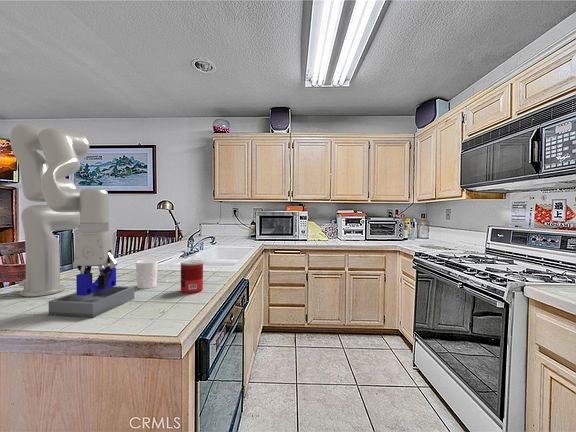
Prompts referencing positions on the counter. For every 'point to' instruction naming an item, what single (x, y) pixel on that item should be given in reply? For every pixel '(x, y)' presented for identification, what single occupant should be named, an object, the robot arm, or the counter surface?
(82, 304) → the tray
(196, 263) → the canned food
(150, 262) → the white cup
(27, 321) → the counter surface
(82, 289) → the blue u-shaped block
